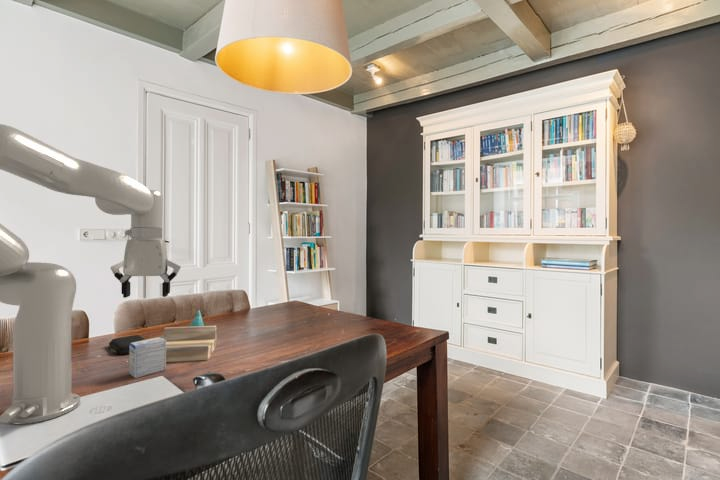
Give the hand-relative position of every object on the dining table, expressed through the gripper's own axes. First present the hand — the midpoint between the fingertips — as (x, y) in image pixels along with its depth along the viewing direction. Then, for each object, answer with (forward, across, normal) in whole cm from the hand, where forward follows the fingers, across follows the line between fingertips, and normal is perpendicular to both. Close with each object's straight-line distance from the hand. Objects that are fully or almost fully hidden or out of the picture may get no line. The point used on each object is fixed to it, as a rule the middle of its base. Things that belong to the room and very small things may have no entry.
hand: (146, 296), depth 104 cm
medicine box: (+21, +1, -1) cm, 21 cm away
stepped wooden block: (+20, +8, +14) cm, 26 cm away
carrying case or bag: (+21, -12, +23) cm, 34 cm away
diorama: (+21, +2, +39) cm, 44 cm away
